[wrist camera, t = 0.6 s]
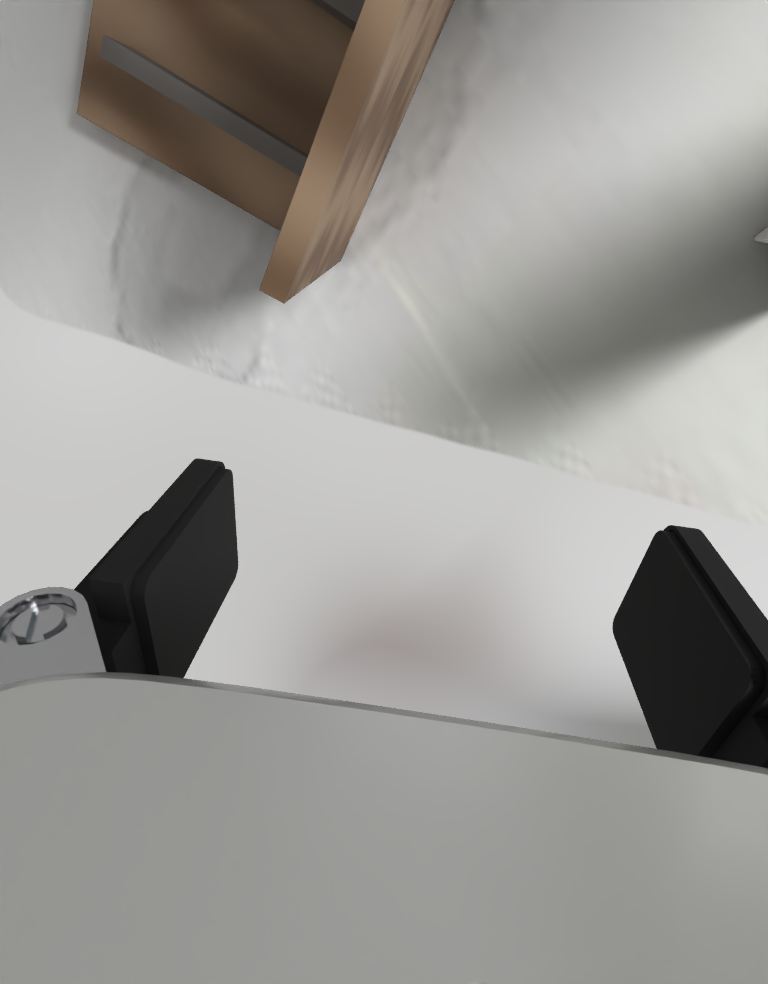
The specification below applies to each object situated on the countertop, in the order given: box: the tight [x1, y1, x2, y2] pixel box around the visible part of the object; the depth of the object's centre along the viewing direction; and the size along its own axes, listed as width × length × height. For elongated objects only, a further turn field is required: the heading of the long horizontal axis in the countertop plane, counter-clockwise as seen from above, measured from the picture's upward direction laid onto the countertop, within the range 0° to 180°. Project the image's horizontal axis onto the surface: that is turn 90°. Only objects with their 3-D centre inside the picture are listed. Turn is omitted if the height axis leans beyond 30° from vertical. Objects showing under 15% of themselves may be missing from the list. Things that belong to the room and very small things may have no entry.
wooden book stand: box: [77, 0, 455, 303], centre depth 24 cm, size 16×18×16 cm
